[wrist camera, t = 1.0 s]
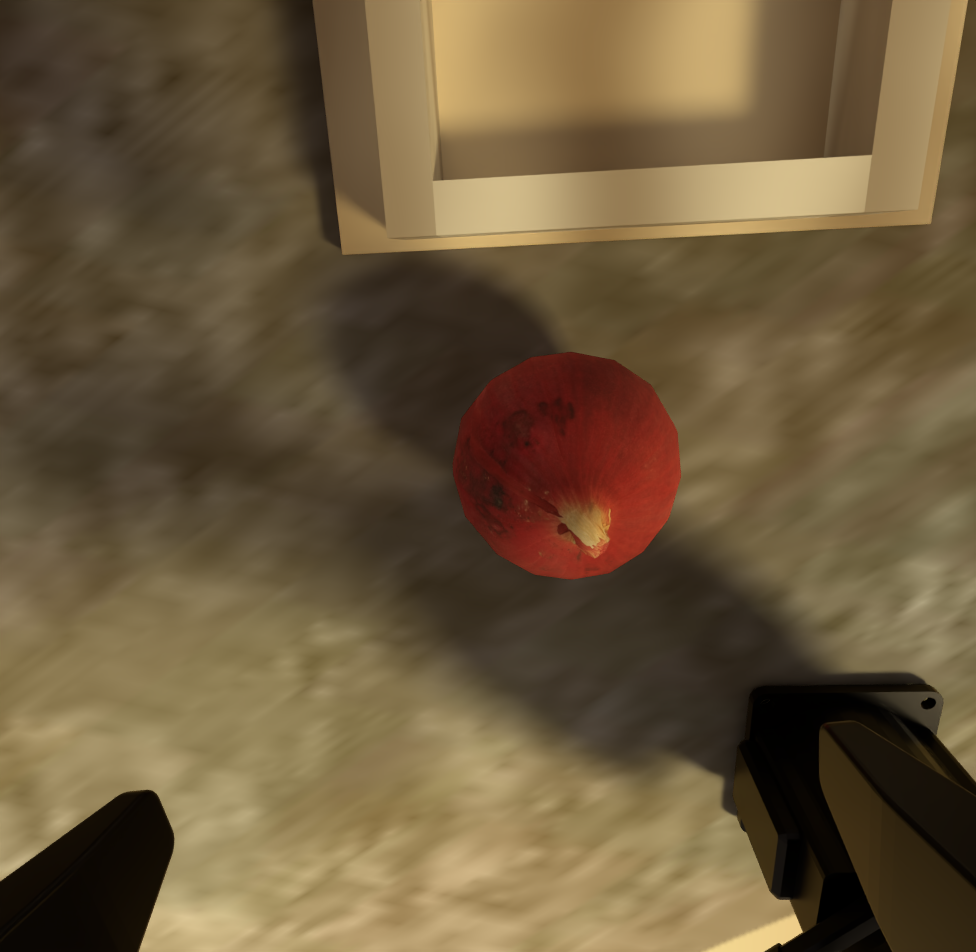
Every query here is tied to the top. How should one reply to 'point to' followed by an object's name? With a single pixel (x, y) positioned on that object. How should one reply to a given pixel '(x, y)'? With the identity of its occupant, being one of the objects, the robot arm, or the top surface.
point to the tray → (631, 117)
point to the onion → (567, 465)
